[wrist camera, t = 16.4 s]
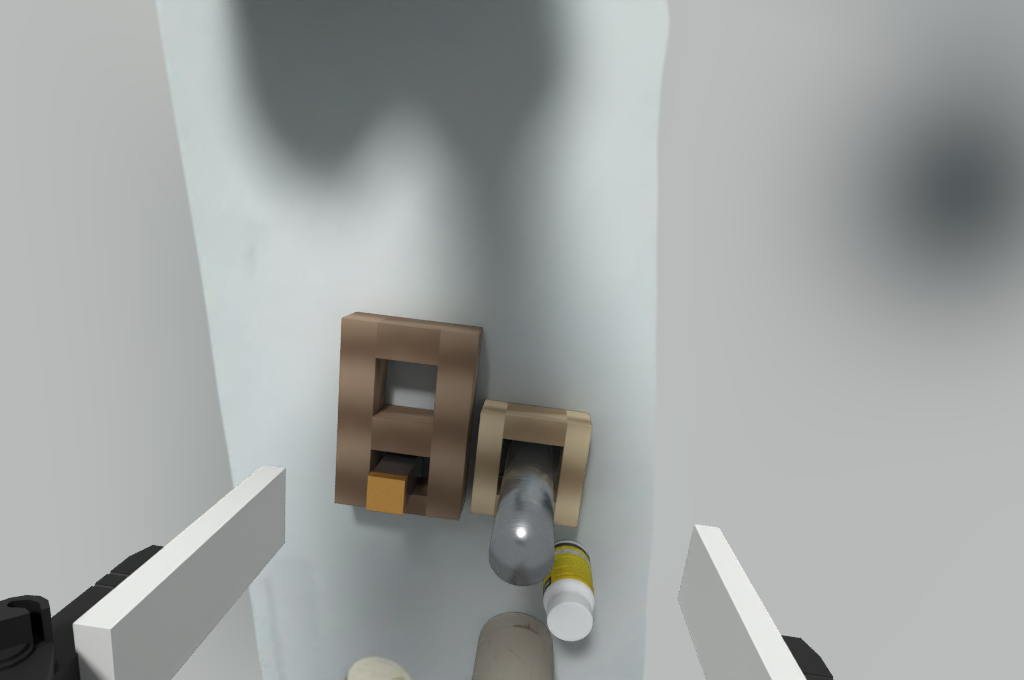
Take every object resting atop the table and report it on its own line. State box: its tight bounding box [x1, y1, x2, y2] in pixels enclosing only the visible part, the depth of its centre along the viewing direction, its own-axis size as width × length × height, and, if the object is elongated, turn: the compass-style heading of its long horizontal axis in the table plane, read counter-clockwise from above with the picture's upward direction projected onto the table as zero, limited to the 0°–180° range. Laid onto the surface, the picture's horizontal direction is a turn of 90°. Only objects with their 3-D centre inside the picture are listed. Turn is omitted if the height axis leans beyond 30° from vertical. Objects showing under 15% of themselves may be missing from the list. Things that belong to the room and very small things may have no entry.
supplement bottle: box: [543, 540, 595, 641], centre depth 47 cm, size 5×5×8 cm
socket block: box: [335, 312, 482, 520], centre depth 47 cm, size 18×12×4 cm, turn 174°
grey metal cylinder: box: [489, 440, 555, 586], centre depth 41 cm, size 4×4×16 cm
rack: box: [470, 400, 592, 527], centre depth 47 cm, size 10×10×4 cm
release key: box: [366, 452, 423, 515], centre depth 46 cm, size 3×3×7 cm
